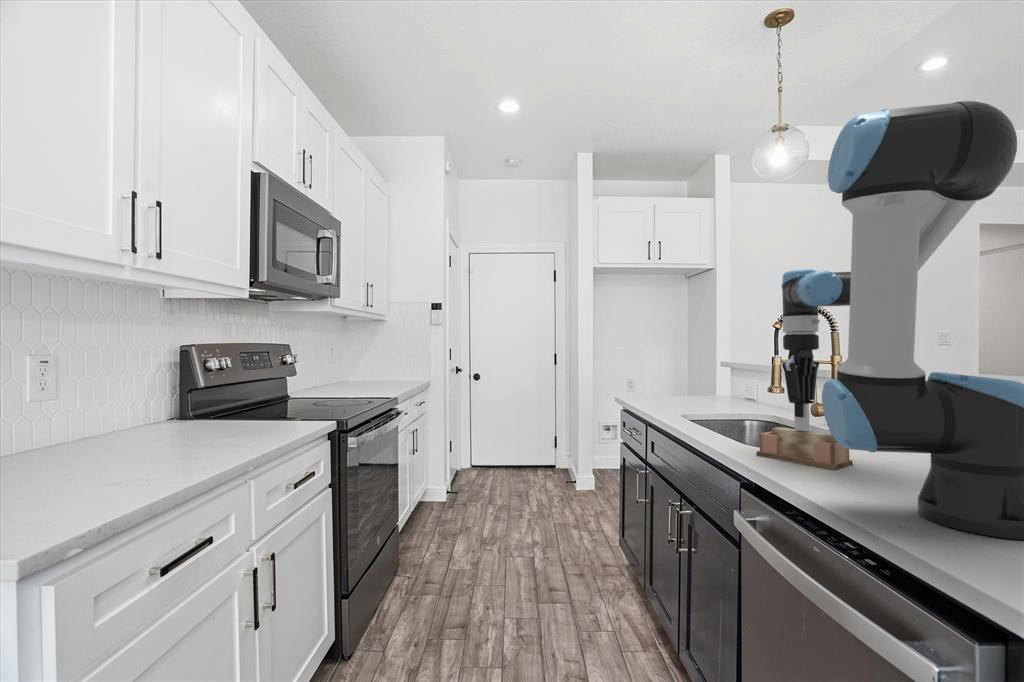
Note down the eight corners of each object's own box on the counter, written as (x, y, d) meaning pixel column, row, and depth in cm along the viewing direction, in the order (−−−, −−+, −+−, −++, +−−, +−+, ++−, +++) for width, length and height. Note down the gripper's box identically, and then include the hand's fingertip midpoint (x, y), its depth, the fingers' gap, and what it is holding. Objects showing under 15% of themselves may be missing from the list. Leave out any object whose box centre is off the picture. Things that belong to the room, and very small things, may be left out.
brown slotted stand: (835, 465, 109) (834, 445, 109) (759, 451, 124) (759, 433, 124) (849, 460, 113) (849, 441, 113) (774, 447, 128) (774, 430, 128)
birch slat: (772, 451, 123) (771, 428, 124) (778, 450, 125) (778, 426, 125) (832, 462, 112) (832, 436, 112) (838, 460, 113) (838, 435, 113)
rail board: (833, 470, 109) (833, 465, 109) (756, 455, 124) (756, 451, 124) (852, 464, 113) (852, 460, 114) (775, 451, 129) (775, 447, 129)
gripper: (802, 333, 112) (804, 435, 112) (830, 333, 119) (831, 429, 119) (770, 334, 119) (772, 430, 118) (798, 334, 126) (800, 425, 125)
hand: (801, 430), depth 119 cm, fingers closed
